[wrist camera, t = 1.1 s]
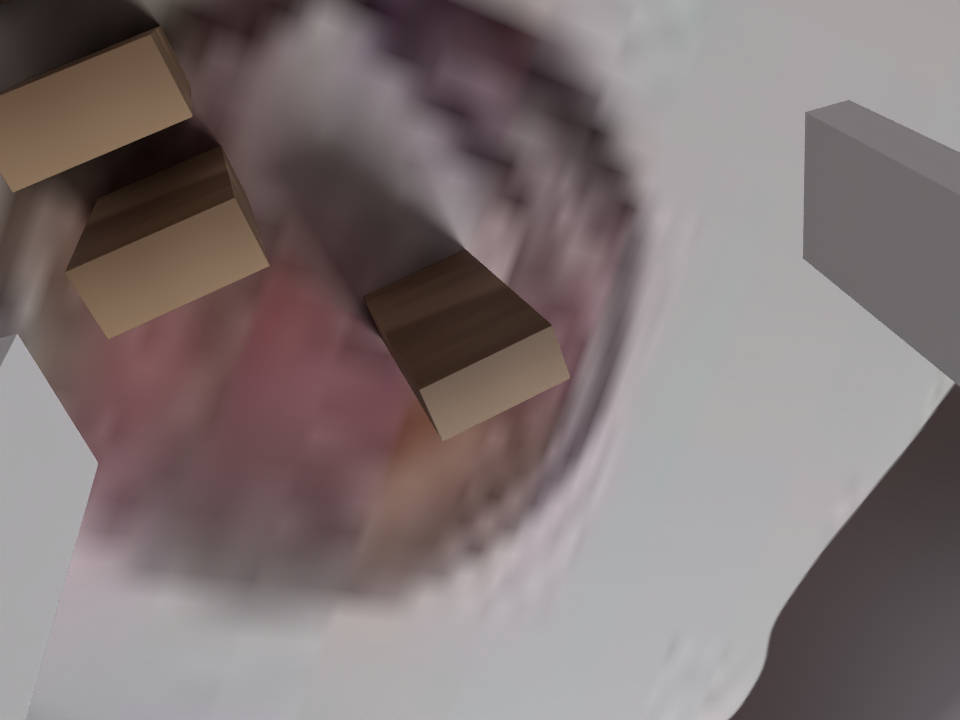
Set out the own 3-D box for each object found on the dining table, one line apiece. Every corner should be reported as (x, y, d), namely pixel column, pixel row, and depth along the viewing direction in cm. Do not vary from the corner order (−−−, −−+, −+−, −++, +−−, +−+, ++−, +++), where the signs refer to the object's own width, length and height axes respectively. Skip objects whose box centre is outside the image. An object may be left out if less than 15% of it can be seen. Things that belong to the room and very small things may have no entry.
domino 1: (190, 84, 31) (192, 116, 22) (62, 138, 30) (13, 192, 22) (160, 25, 30) (150, 34, 21) (26, 79, 29) (-40, 111, 21)
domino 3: (481, 292, 38) (570, 377, 29) (382, 339, 37) (442, 441, 29) (465, 249, 37) (552, 325, 28) (362, 297, 36) (419, 390, 28)
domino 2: (247, 197, 33) (269, 266, 25) (128, 249, 33) (108, 339, 24) (221, 145, 32) (234, 197, 24) (97, 198, 32) (64, 272, 23)
